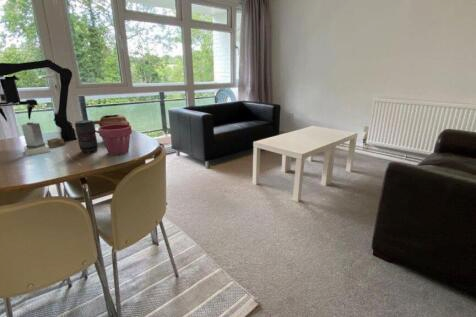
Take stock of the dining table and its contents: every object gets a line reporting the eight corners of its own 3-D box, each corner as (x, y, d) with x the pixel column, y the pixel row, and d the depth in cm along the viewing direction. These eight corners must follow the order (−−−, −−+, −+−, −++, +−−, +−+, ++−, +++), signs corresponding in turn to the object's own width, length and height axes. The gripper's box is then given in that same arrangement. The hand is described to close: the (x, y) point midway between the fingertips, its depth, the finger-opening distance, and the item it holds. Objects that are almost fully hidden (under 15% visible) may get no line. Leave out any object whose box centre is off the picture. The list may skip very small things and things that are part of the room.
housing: (35, 144, 130) (29, 121, 126) (45, 145, 130) (39, 121, 126) (26, 147, 125) (20, 123, 121) (36, 148, 125) (30, 124, 121)
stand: (46, 147, 134) (45, 142, 134) (50, 151, 128) (48, 146, 127) (24, 151, 129) (23, 146, 128) (27, 155, 122) (25, 150, 122)
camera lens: (102, 149, 131) (97, 120, 127) (89, 154, 124) (83, 123, 119) (90, 148, 134) (84, 119, 129) (76, 152, 127) (70, 122, 122)
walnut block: (57, 144, 142) (56, 138, 140) (64, 145, 140) (63, 138, 139) (48, 146, 137) (47, 140, 136) (55, 147, 136) (54, 141, 134)
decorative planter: (95, 145, 139) (91, 119, 135) (91, 140, 148) (86, 116, 144) (134, 139, 151) (131, 115, 146) (127, 135, 160) (124, 112, 156)
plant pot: (125, 146, 137) (122, 122, 133) (139, 151, 129) (136, 126, 125) (97, 152, 127) (92, 126, 123) (110, 159, 118) (106, 131, 114)
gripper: (31, 87, 143) (38, 116, 148) (-16, 89, 131) (-7, 120, 136) (33, 89, 135) (41, 119, 140) (-16, 90, 123) (-6, 123, 128)
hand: (18, 120), depth 136 cm, fingers open, 9 cm apart
